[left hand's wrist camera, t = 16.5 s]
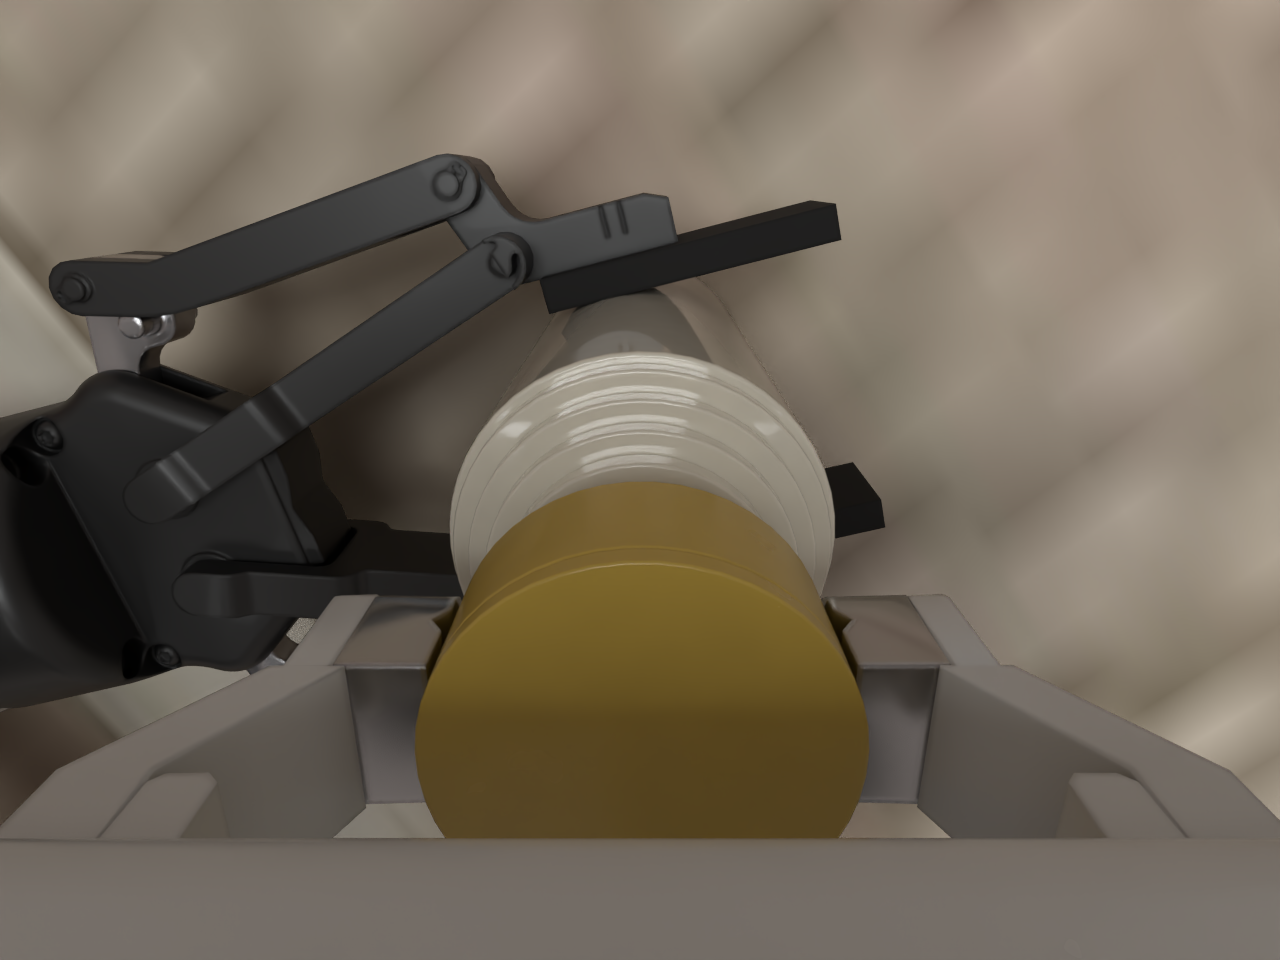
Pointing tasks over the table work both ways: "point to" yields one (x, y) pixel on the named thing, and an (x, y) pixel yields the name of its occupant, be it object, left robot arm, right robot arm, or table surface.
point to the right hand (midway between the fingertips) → (846, 364)
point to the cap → (641, 681)
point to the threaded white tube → (643, 424)
